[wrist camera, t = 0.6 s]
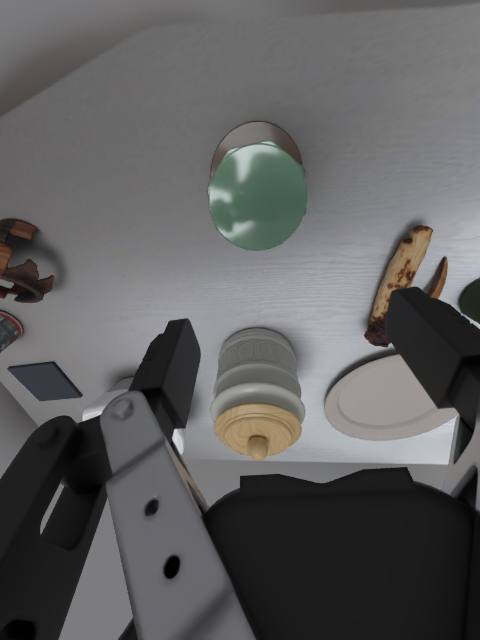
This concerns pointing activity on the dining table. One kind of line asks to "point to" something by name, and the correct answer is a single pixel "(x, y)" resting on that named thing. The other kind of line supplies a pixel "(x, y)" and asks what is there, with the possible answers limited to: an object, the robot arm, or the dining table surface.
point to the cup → (257, 195)
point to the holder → (254, 140)
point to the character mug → (471, 302)
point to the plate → (383, 403)
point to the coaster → (45, 381)
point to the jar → (257, 394)
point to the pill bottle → (8, 330)
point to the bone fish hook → (403, 280)
